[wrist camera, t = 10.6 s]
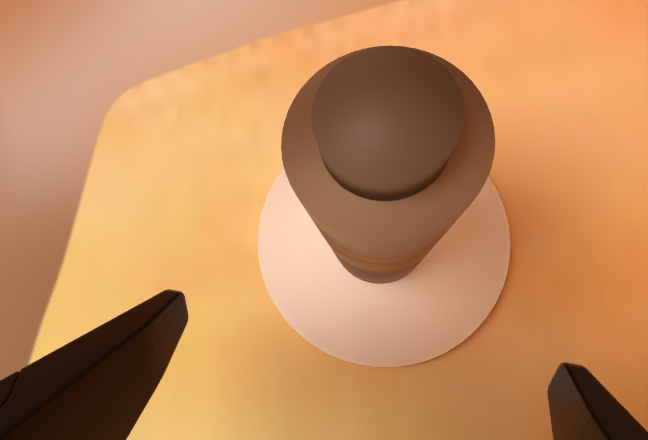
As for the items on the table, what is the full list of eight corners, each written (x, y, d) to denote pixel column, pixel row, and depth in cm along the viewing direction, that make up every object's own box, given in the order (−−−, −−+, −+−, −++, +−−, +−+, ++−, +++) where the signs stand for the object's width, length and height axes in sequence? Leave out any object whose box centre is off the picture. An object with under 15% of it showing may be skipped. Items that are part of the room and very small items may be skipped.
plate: (513, 371, 19) (520, 374, 18) (254, 358, 21) (248, 361, 20) (495, 126, 22) (501, 117, 21) (270, 132, 24) (265, 124, 23)
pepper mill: (440, 266, 20) (558, 181, 7) (349, 296, 20) (306, 264, 7) (406, 180, 21) (455, -23, 8) (321, 209, 21) (242, 54, 9)
